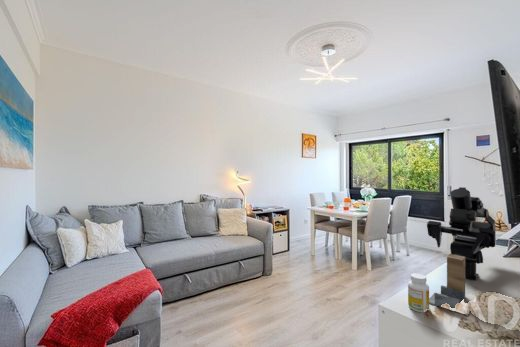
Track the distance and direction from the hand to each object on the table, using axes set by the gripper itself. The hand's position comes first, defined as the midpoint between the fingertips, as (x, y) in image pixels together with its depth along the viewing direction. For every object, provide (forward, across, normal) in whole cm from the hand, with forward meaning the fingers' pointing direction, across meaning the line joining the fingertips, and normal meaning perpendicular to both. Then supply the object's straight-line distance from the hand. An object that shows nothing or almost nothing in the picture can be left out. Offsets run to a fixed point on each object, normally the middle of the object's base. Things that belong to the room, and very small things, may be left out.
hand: (454, 249), depth 85 cm
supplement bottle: (+24, -6, +3) cm, 24 cm away
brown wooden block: (+10, +1, +11) cm, 15 cm away
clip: (+16, +1, +7) cm, 17 cm away
